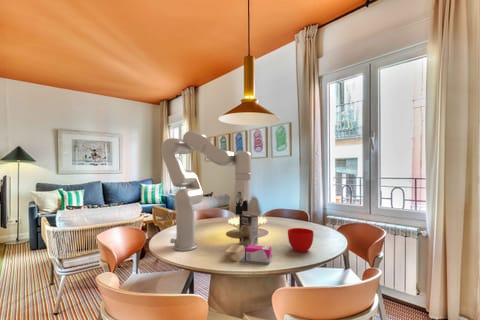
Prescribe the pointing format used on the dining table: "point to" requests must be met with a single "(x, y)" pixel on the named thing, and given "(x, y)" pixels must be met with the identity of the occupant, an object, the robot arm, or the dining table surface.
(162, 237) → the dining table surface
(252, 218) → the coffee box
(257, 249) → the supplement box
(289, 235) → the ceramic cup
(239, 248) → the ledge
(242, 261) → the mat
